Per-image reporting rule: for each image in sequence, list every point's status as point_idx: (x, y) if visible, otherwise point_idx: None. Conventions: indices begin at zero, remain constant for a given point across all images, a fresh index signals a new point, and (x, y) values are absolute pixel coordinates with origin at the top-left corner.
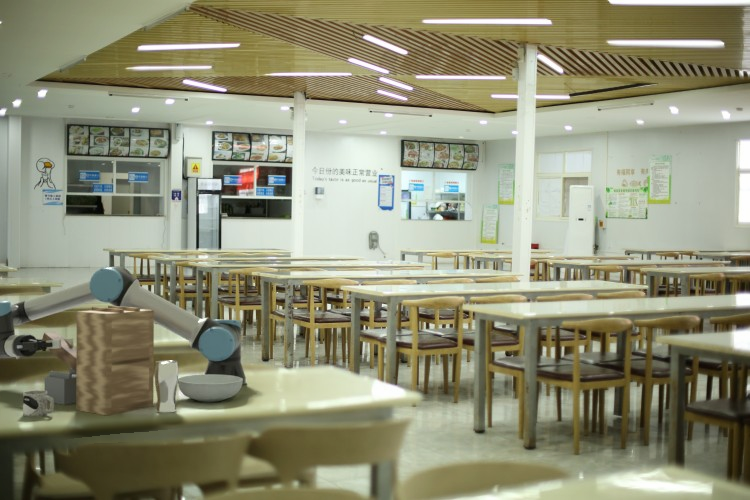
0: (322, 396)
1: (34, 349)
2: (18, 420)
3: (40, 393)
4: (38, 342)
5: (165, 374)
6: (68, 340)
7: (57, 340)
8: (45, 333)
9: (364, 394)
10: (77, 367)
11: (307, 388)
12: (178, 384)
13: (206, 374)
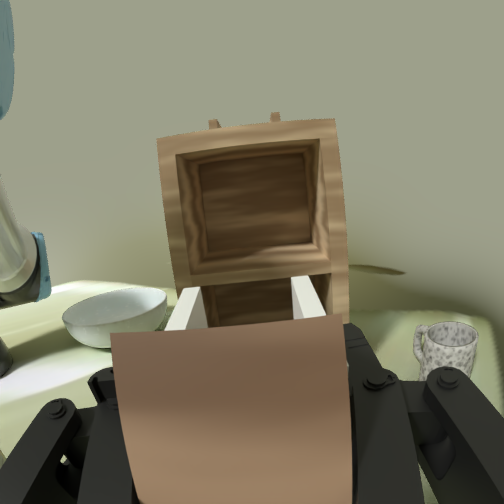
0: (79, 299)
1: (455, 451)
2: (476, 354)
3: (437, 349)
4: (437, 373)
5: None
6: (197, 312)
7: (311, 284)
8: (328, 315)
9: (66, 292)
10: (347, 282)
11: (30, 316)
12: (146, 319)
13: (65, 320)
